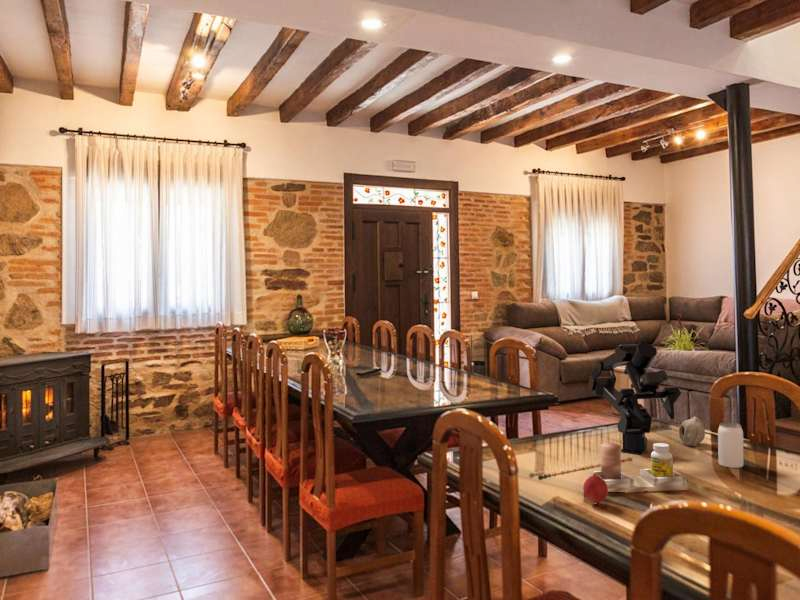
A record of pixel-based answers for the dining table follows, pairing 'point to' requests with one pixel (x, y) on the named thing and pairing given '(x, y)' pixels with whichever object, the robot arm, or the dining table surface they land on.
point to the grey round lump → (691, 432)
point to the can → (730, 445)
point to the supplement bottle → (661, 461)
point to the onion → (595, 488)
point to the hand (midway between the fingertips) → (658, 419)
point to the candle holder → (623, 482)
